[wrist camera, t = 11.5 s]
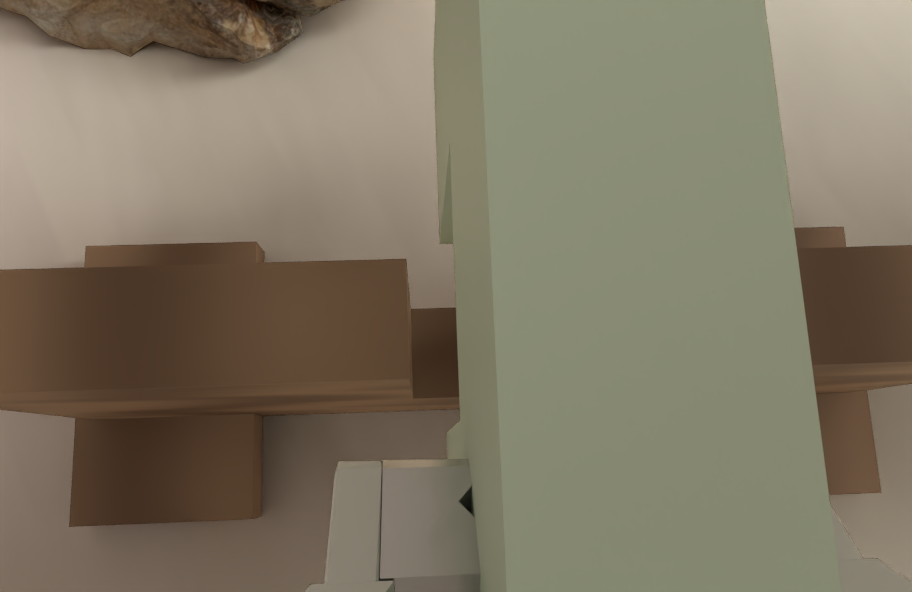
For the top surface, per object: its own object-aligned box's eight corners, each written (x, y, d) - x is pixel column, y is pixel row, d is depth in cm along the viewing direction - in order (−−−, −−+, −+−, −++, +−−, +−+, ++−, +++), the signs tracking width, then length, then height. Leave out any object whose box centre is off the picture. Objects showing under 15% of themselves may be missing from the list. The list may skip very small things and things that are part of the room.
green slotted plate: (573, 654, 14) (905, 1077, 5) (453, 660, 14) (531, 1107, 4) (535, 58, 17) (698, -503, 7) (433, 59, 17) (454, -509, 7)
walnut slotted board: (824, 237, 25) (1076, 99, 15) (858, 490, 24) (1164, 515, 14) (102, 256, 24) (-117, 121, 14) (87, 523, 23) (-170, 574, 13)
